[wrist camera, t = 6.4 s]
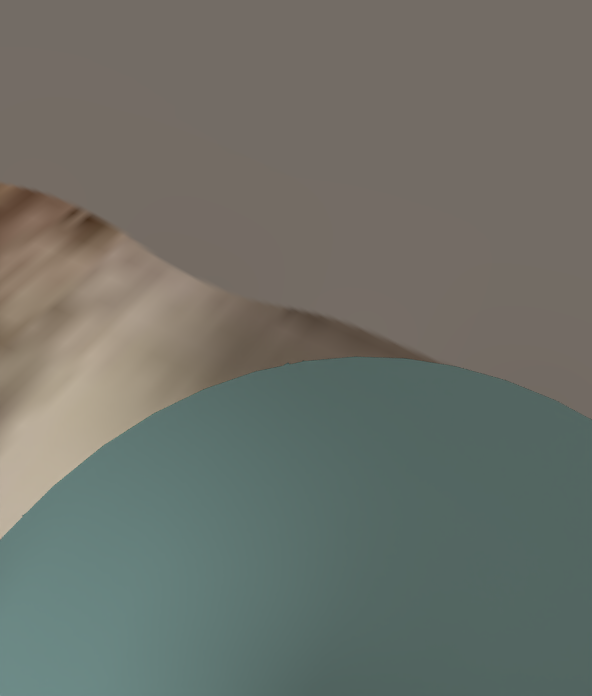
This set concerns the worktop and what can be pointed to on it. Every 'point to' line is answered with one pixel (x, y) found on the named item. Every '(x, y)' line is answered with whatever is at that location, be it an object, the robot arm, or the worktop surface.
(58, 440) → the worktop surface
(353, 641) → the teal domed post
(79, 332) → the worktop surface
